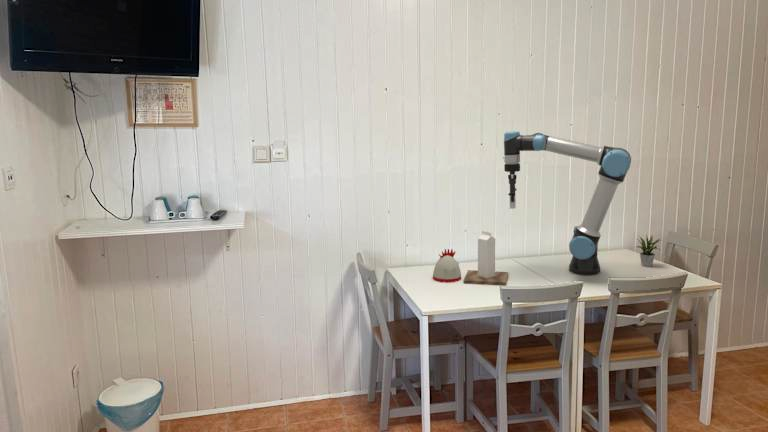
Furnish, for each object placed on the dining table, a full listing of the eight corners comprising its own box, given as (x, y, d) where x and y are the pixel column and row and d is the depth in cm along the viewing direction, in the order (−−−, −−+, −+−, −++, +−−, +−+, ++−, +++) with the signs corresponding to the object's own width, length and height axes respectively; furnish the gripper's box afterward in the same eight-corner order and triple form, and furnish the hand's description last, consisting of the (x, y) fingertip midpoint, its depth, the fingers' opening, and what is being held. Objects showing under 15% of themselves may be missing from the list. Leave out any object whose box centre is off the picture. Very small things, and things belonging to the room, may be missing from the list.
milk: (486, 278, 300) (486, 234, 296) (477, 275, 305) (477, 232, 300) (495, 276, 303) (495, 232, 299) (486, 273, 308) (486, 230, 304)
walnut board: (508, 274, 310) (508, 271, 310) (505, 285, 293) (505, 282, 293) (468, 272, 315) (468, 270, 315) (463, 283, 298) (463, 280, 298)
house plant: (664, 270, 311) (666, 239, 308) (634, 269, 315) (636, 237, 312) (661, 263, 324) (663, 232, 321) (632, 261, 329) (634, 231, 325)
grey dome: (464, 281, 301) (464, 251, 299) (436, 283, 299) (436, 253, 296) (456, 273, 315) (456, 244, 312) (430, 275, 313) (429, 246, 310)
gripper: (504, 161, 317) (505, 202, 321) (503, 166, 293) (504, 210, 297) (519, 160, 316) (520, 201, 319) (520, 165, 292) (520, 210, 295)
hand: (512, 206), depth 308 cm, fingers open, 13 cm apart
